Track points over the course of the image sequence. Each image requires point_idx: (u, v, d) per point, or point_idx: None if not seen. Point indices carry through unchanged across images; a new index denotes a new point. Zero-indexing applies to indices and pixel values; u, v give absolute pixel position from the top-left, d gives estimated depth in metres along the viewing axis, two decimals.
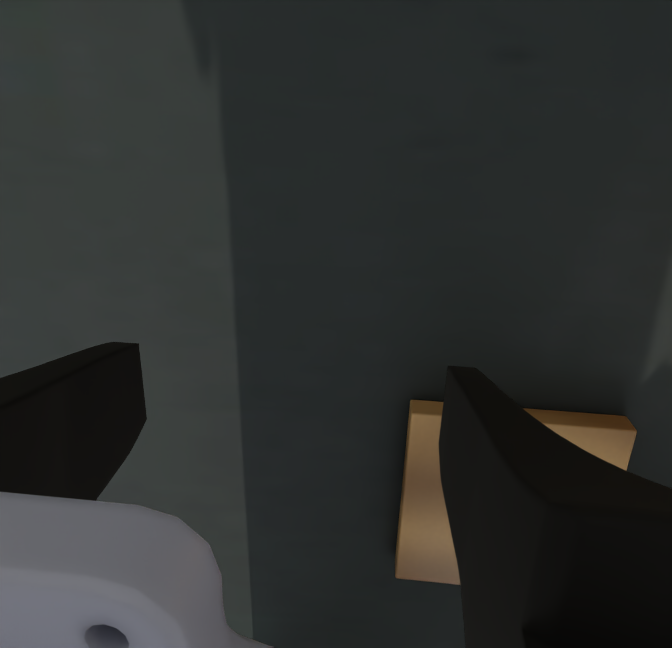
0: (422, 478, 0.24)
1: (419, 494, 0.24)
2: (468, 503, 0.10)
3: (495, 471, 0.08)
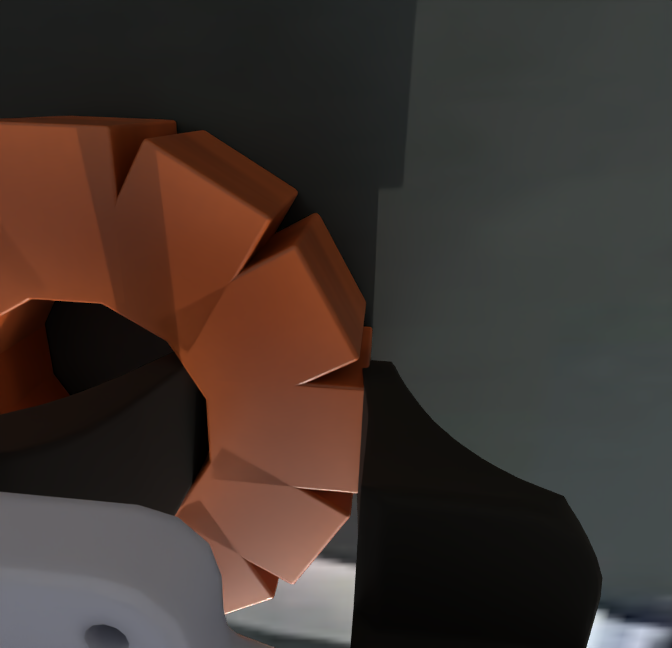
0: None
1: None
2: None
3: None
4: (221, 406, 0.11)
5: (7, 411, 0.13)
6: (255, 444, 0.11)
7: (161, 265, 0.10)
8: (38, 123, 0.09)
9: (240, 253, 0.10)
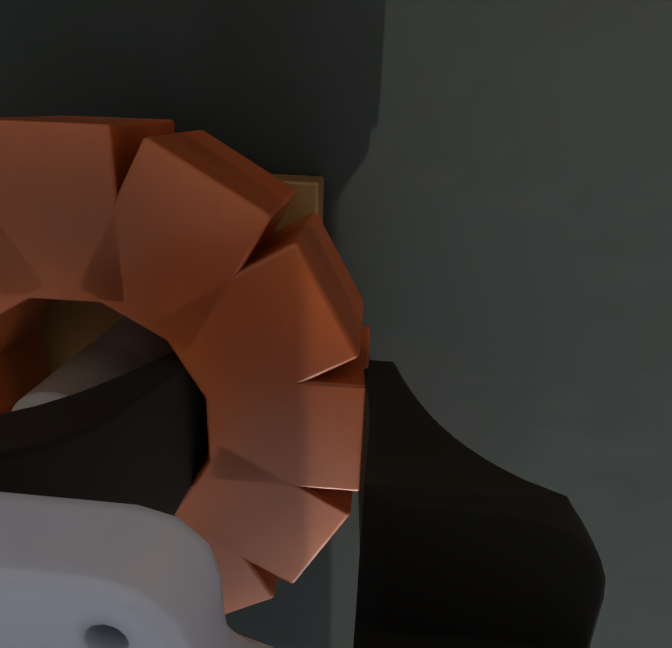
0: None
1: None
2: None
3: None
4: (221, 404, 0.11)
5: (4, 412, 0.13)
6: (255, 443, 0.11)
7: (161, 263, 0.10)
8: (38, 121, 0.09)
9: (240, 251, 0.10)
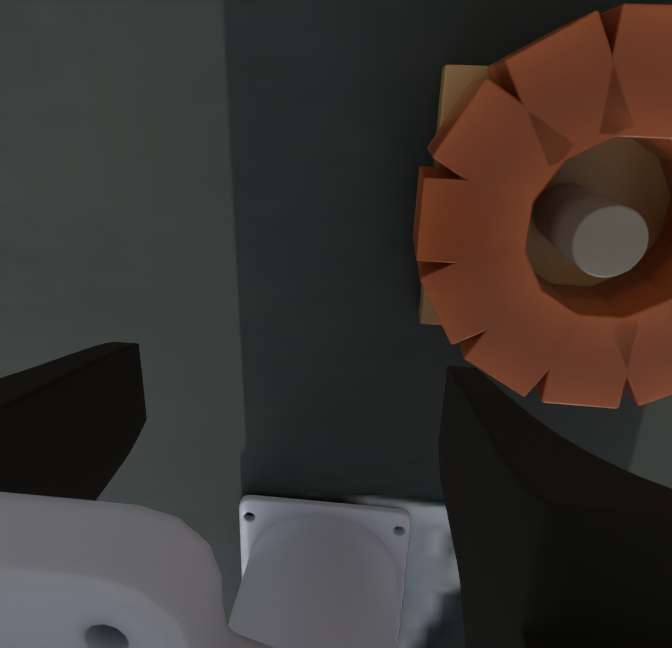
0: None
1: None
2: (468, 503, 0.10)
3: (495, 471, 0.08)
4: None
5: None
6: None
7: None
8: None
9: None
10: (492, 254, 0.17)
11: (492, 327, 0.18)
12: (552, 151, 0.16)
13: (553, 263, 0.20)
